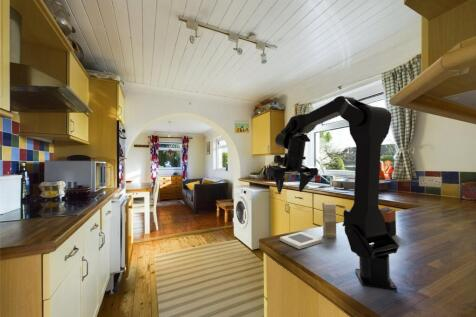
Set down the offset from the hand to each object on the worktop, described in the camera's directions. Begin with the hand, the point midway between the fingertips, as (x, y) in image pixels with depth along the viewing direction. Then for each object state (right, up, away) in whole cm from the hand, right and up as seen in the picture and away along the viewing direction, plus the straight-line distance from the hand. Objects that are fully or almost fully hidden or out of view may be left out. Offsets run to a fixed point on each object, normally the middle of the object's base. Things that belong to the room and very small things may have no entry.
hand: (289, 192), depth 77 cm
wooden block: (+14, -16, -3) cm, 21 cm away
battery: (+35, -16, -2) cm, 38 cm away
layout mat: (+2, -16, -7) cm, 17 cm away
